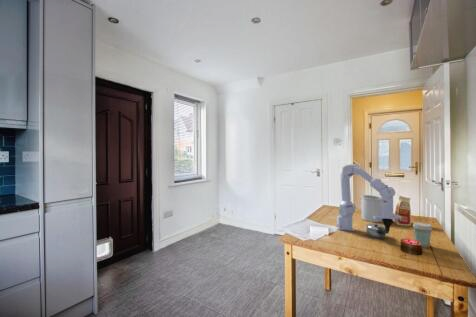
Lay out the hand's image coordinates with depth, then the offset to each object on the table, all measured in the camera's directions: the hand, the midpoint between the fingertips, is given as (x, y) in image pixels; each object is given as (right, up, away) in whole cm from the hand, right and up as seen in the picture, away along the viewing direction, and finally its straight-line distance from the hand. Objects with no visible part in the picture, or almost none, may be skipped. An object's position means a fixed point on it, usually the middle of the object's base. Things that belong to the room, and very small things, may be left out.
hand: (387, 231), depth 134 cm
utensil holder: (+15, -4, +41) cm, 44 cm away
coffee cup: (+15, -6, -6) cm, 18 cm away
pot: (-2, -6, +7) cm, 9 cm away
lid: (-2, -1, +6) cm, 6 cm away
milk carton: (+32, -4, +32) cm, 45 cm away
